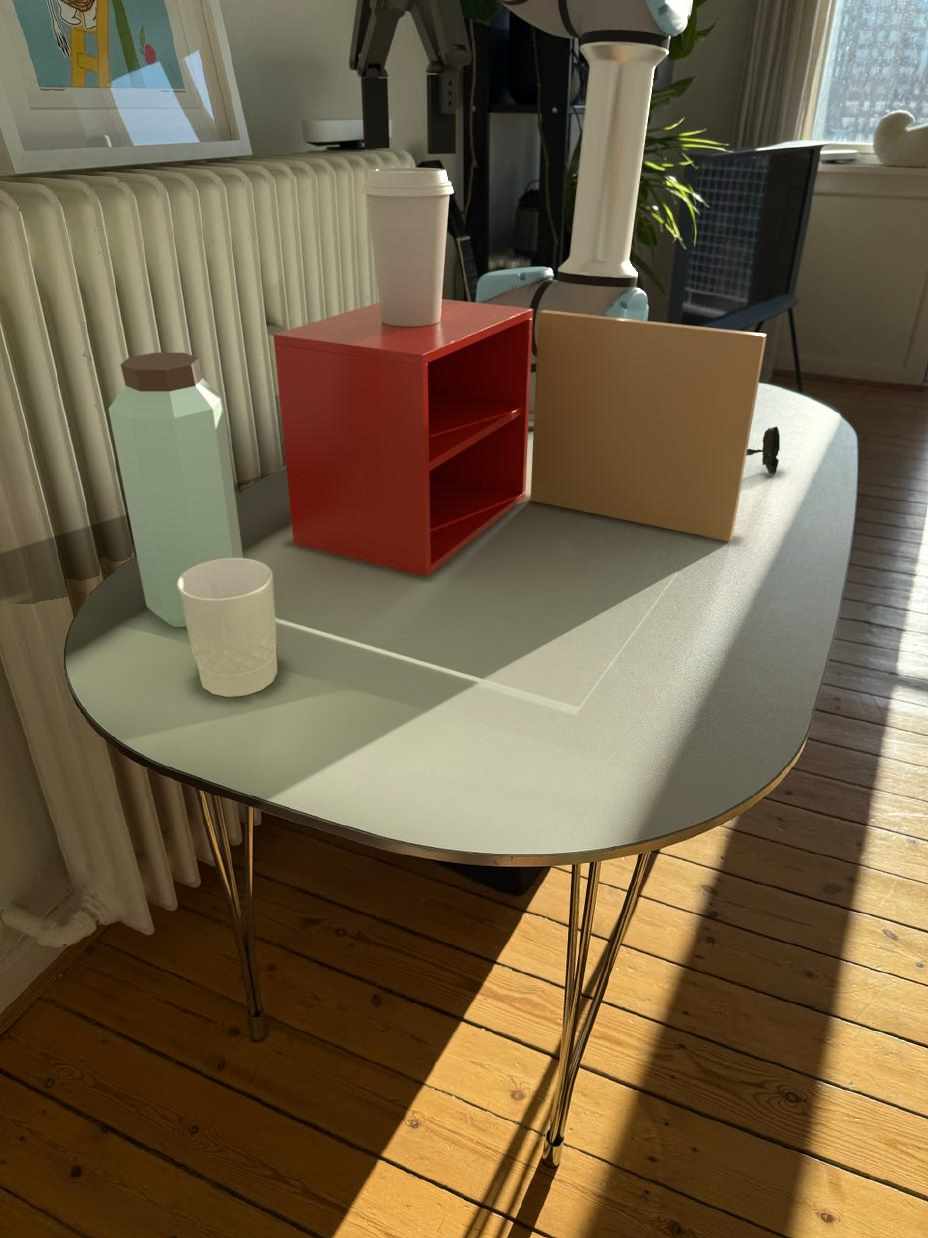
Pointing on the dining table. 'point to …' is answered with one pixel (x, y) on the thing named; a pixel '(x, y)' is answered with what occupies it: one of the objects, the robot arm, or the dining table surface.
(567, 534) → the dining table surface
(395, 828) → the dining table surface
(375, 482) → the cabinet
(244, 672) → the white cup
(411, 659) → the dining table surface
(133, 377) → the water bottle
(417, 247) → the coffee cup
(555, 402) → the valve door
